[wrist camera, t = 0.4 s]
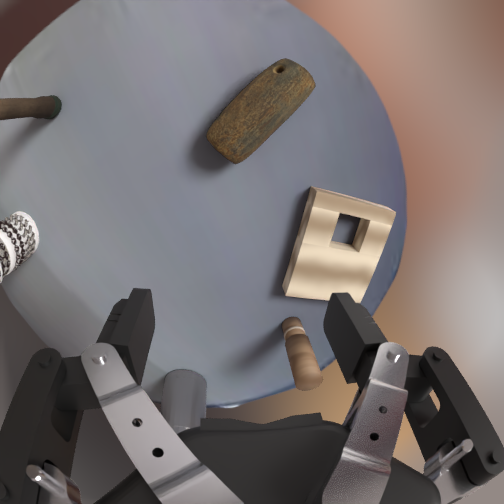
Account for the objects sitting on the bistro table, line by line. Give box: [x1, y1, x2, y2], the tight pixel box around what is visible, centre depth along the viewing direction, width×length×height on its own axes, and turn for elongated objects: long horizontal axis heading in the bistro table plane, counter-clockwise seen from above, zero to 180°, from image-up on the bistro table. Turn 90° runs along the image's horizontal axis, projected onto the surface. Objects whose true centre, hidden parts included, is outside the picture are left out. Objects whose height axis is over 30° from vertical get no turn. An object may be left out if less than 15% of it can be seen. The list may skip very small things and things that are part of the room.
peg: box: [282, 317, 323, 391], centre depth 44 cm, size 4×4×14 cm
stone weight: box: [206, 58, 315, 164], centre depth 31 cm, size 15×7×7 cm, turn 141°
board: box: [282, 186, 396, 303], centre depth 43 cm, size 17×14×3 cm
